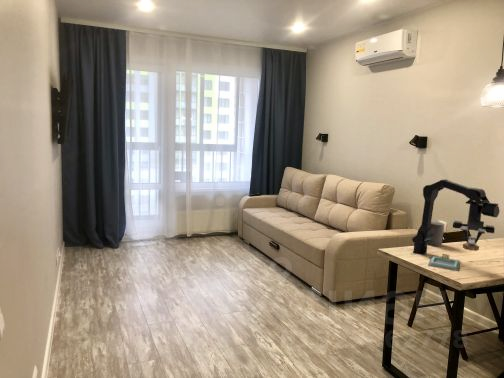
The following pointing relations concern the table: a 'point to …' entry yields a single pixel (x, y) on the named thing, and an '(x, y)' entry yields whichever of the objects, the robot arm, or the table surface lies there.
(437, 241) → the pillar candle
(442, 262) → the carrier plate
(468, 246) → the planet gear
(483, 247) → the table surface
